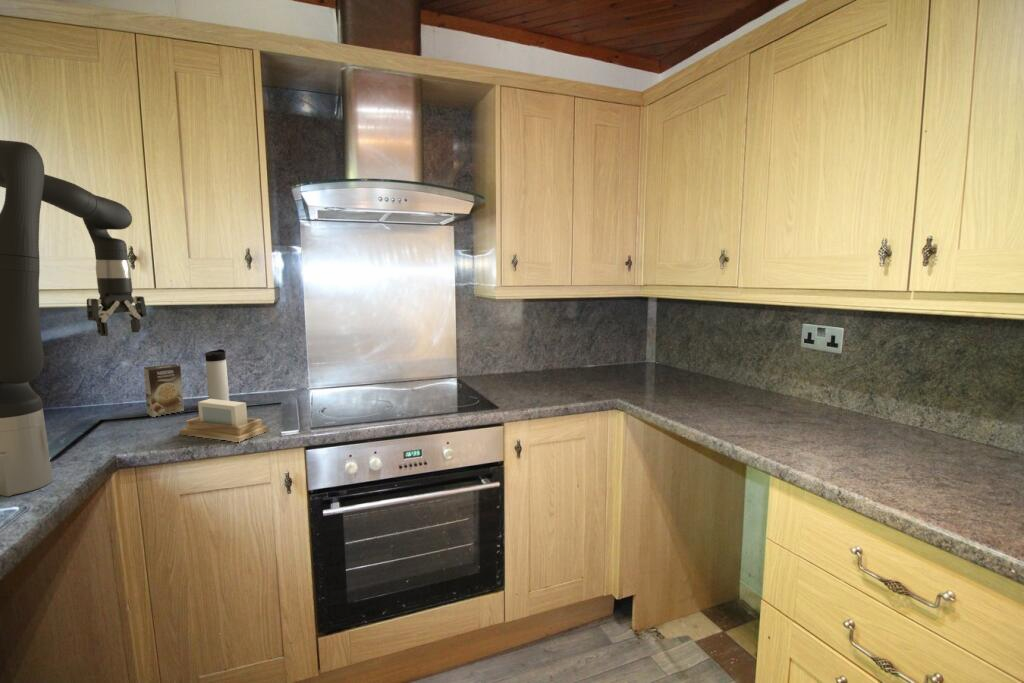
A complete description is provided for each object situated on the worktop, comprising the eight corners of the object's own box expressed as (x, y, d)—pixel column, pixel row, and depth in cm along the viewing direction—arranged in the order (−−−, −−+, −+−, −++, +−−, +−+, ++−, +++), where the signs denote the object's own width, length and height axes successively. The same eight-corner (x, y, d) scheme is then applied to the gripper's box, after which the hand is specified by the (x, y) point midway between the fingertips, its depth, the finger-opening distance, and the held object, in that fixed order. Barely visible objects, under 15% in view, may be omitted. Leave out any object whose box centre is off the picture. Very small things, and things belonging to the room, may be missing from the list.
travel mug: (234, 403, 178) (229, 349, 175) (221, 408, 172) (217, 352, 169) (218, 402, 179) (213, 348, 176) (205, 407, 172) (200, 351, 169)
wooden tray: (239, 443, 138) (238, 429, 137) (179, 435, 144) (178, 422, 143) (268, 431, 148) (267, 418, 148) (212, 424, 154) (211, 411, 154)
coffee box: (153, 417, 160) (148, 370, 158) (147, 414, 164) (142, 367, 162) (185, 411, 167) (180, 365, 165) (178, 408, 171) (174, 363, 169)
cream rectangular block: (236, 433, 142) (234, 406, 140) (200, 428, 146) (197, 402, 145) (248, 428, 145) (246, 402, 144) (212, 423, 150) (210, 398, 149)
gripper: (95, 277, 129) (102, 337, 131) (149, 276, 142) (154, 331, 145) (75, 276, 131) (83, 336, 133) (130, 276, 144) (136, 330, 147)
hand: (120, 333), depth 139 cm, fingers open, 8 cm apart
